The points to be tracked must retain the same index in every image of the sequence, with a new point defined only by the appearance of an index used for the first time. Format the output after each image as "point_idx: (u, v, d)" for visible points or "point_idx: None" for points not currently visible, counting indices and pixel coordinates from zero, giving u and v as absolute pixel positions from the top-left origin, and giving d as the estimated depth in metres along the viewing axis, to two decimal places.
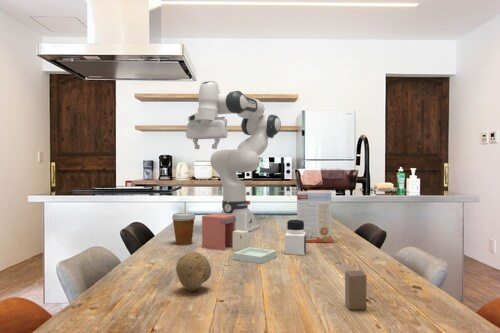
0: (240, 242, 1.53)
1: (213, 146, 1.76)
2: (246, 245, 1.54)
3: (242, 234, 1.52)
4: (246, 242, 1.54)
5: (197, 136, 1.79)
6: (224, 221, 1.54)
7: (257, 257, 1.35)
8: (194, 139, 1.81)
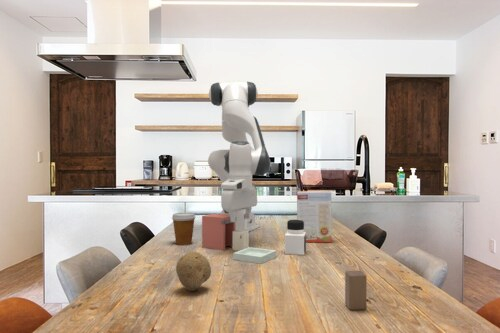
0: (240, 242, 1.53)
1: (248, 216, 1.58)
2: (246, 245, 1.54)
3: (242, 234, 1.52)
4: (246, 242, 1.54)
5: (239, 207, 1.51)
6: (224, 221, 1.54)
7: (257, 257, 1.35)
8: (234, 210, 1.49)
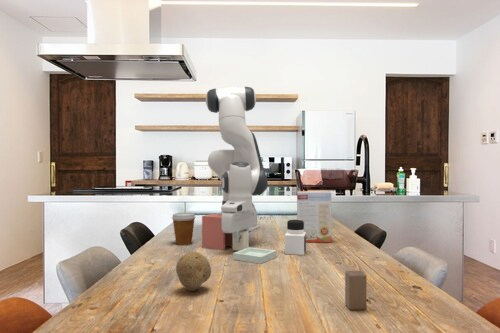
0: (240, 242, 1.53)
1: None
2: (246, 245, 1.54)
3: (242, 234, 1.52)
4: (246, 242, 1.54)
5: (239, 229, 1.51)
6: None
7: (257, 257, 1.35)
8: (237, 232, 1.52)
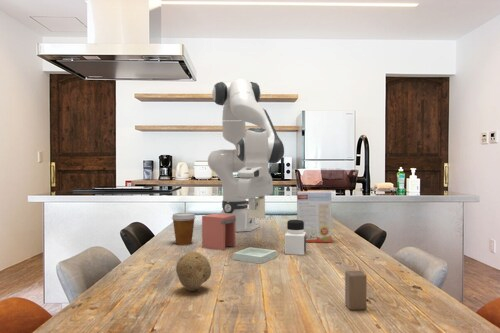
0: (256, 209, 1.50)
1: None
2: (262, 212, 1.50)
3: (258, 201, 1.49)
4: (262, 209, 1.50)
5: (256, 195, 1.47)
6: (224, 221, 1.54)
7: (257, 257, 1.35)
8: (254, 198, 1.48)
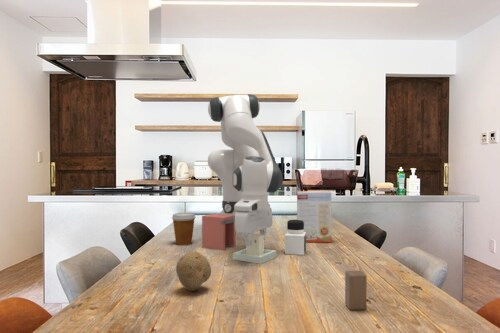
0: (254, 247, 1.40)
1: None
2: (261, 250, 1.40)
3: (257, 238, 1.39)
4: (261, 247, 1.40)
5: (254, 230, 1.37)
6: (224, 221, 1.54)
7: (257, 257, 1.35)
8: (249, 234, 1.36)
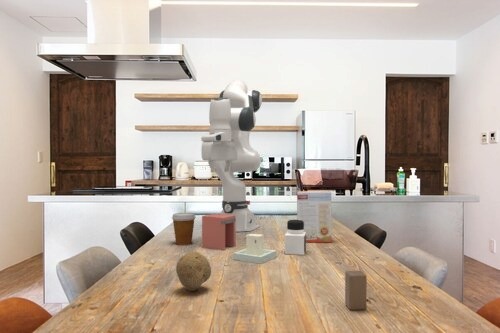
0: (254, 247, 1.40)
1: (228, 169, 1.68)
2: (261, 250, 1.40)
3: (257, 238, 1.39)
4: (261, 247, 1.40)
5: (219, 158, 1.60)
6: (224, 221, 1.54)
7: (257, 257, 1.35)
8: (214, 161, 1.59)
